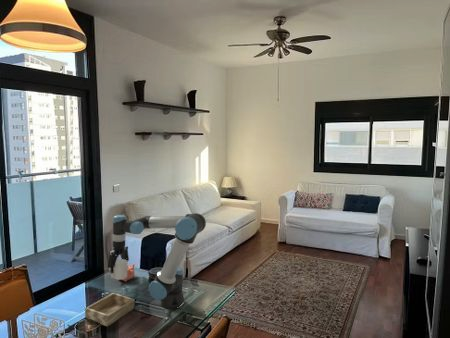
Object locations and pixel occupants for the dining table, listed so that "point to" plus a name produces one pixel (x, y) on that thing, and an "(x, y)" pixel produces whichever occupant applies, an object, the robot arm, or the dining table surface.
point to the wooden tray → (109, 309)
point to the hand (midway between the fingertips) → (118, 275)
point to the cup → (120, 269)
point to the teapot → (129, 273)
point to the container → (153, 274)
